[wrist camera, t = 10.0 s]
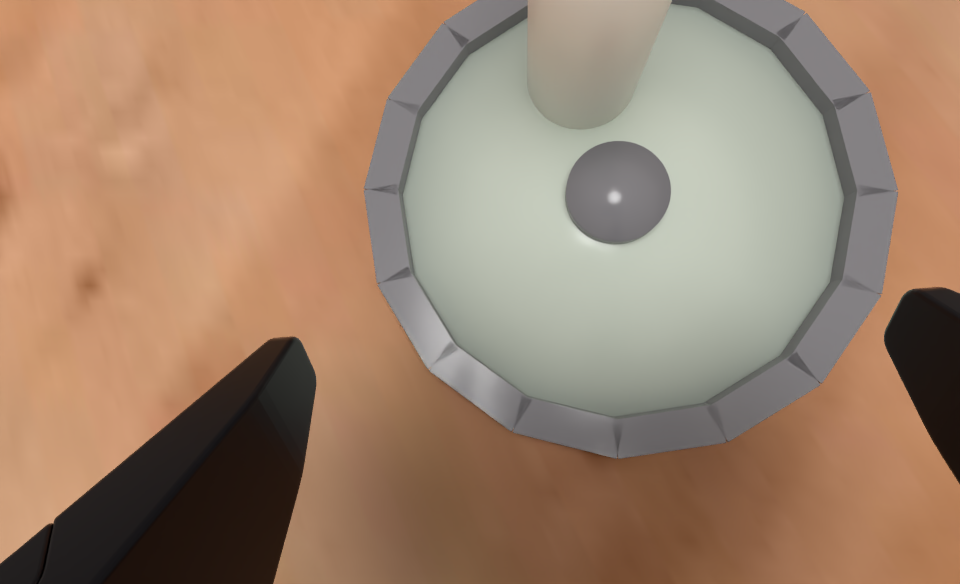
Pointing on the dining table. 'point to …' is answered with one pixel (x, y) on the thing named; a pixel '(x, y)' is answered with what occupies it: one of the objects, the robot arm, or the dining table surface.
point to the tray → (634, 227)
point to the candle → (588, 56)
